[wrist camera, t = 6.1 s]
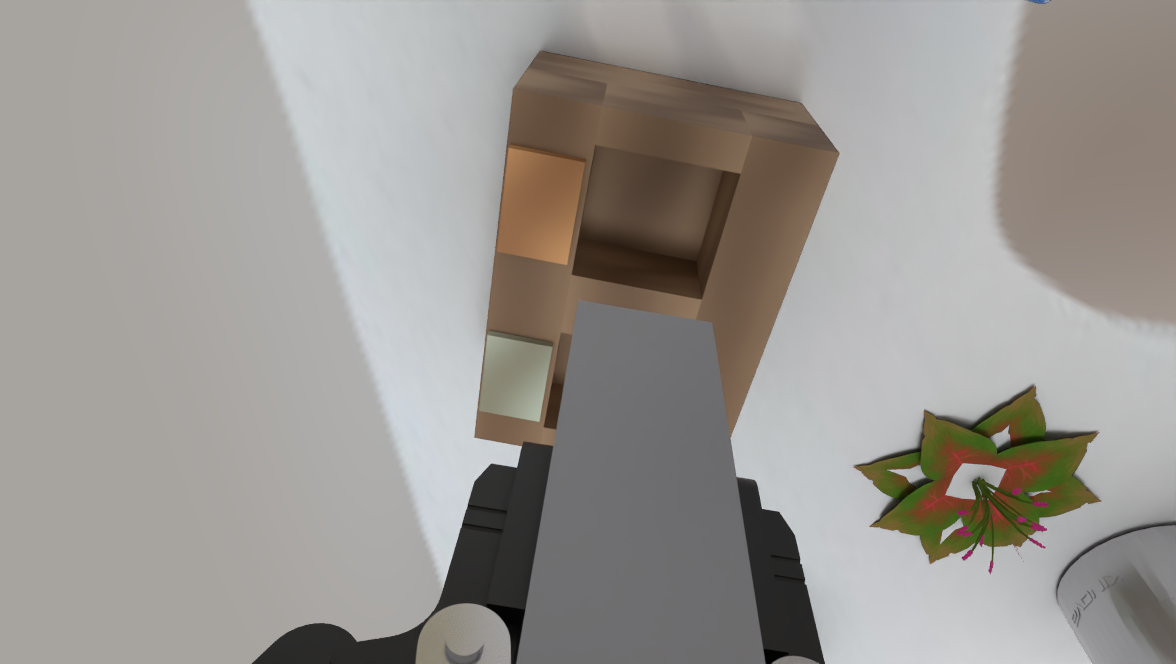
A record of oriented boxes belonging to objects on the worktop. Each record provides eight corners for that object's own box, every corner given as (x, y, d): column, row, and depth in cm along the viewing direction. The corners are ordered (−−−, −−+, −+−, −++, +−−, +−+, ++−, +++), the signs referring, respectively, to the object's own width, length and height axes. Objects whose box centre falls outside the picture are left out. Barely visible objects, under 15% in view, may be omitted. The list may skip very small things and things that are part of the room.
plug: (712, 322, 16) (795, 848, 7) (681, 425, 18) (717, 953, 9) (578, 300, 16) (492, 802, 7) (561, 405, 18) (474, 917, 9)
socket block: (802, 103, 26) (841, 156, 20) (703, 392, 33) (714, 486, 28) (540, 50, 25) (511, 90, 20) (501, 354, 33) (472, 442, 28)
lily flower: (1135, 497, 35) (1194, 569, 31) (912, 579, 40) (940, 652, 36) (1049, 339, 31) (1107, 402, 27) (810, 452, 35) (829, 520, 32)
